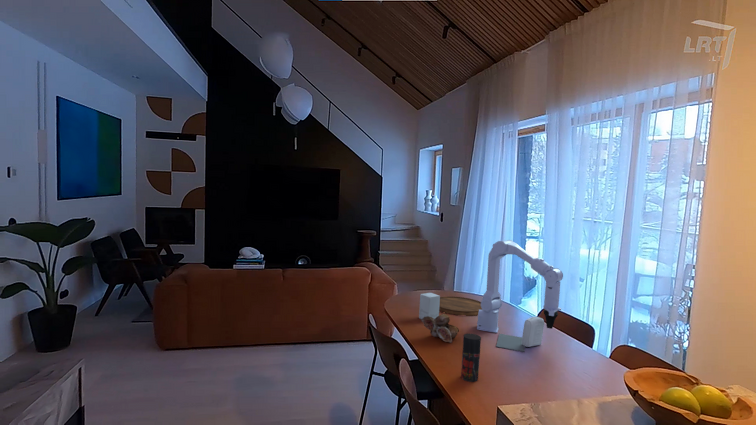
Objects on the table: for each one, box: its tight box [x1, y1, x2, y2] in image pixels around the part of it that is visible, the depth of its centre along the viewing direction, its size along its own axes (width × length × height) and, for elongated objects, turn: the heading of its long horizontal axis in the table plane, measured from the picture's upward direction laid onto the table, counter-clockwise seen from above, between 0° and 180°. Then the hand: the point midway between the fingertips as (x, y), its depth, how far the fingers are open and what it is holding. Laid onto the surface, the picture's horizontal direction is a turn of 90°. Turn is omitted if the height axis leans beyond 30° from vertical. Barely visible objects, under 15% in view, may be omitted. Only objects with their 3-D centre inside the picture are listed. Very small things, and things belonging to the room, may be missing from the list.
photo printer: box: [521, 316, 545, 348], centre depth 180 cm, size 10×4×12 cm, turn 124°
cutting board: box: [439, 295, 483, 317], centre depth 233 cm, size 32×32×2 cm
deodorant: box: [460, 333, 482, 383], centre depth 145 cm, size 6×6×15 cm
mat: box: [495, 333, 526, 353], centre depth 182 cm, size 12×17×1 cm
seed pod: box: [420, 313, 460, 344], centre depth 183 cm, size 13×16×15 cm
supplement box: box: [418, 292, 441, 320], centre depth 209 cm, size 7×7×13 cm
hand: (549, 327), depth 177 cm, fingers closed
